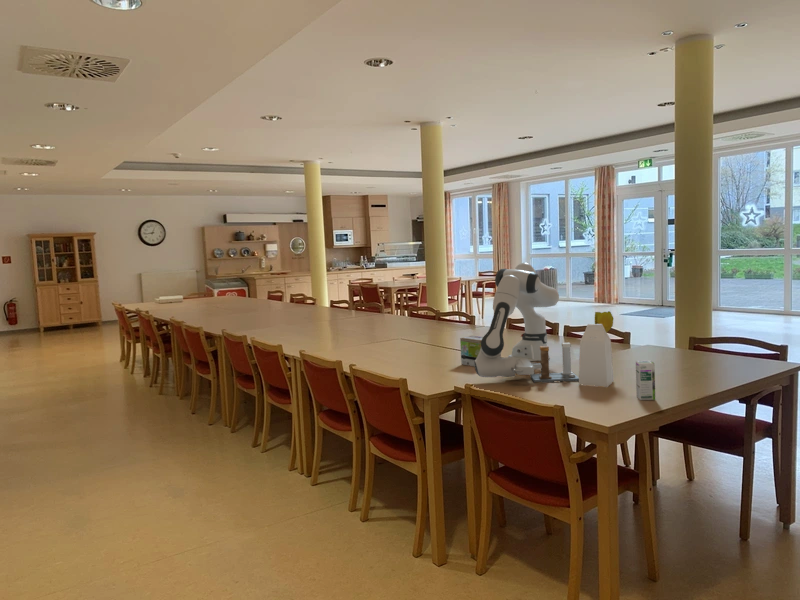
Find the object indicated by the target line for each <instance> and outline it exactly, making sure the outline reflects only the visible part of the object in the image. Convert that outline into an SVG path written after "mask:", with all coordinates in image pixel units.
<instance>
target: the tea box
mask: <svg viewBox="0 0 800 600" xmlns="http://www.w3.org/2000/svg"><path fill="white" fill-rule="evenodd" d="M483 337H484V336H480V335H469V336H464V337H460V338H459V339H460V340H459V341H460V362H461V365H462V364H463V365H464V366H469V365H470V367H475V365H474V361H475V360H476V358H477V356H478V354H479V352H480V349H481V341H482V338H483Z"/></svg>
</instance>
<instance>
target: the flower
mask: <svg viewBox="0 0 800 600" xmlns="http://www.w3.org/2000/svg"><path fill="white" fill-rule="evenodd" d="M594 324H602V325H603V327H604V329H605V331H606V333H608V332H610V330H611V329H612V327H614V326H613V325H614V315H613V313H612V312H611V310H610V311H603V312H601V311H595V312H594Z"/></svg>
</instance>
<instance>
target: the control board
mask: <svg viewBox="0 0 800 600" xmlns="http://www.w3.org/2000/svg"><path fill="white" fill-rule="evenodd" d="M539 375H541V373H534V374H532V375H529V377H530V379H531V380H532V381H533V383H535V382H542V383H554V382H553V381H571V382H579V375H576V374H575V373H574V372H573V374H569V375H562V374H561V372H549V375H550V376H551V377H552V378H547V379H540V377H539ZM535 384H536V383H535Z"/></svg>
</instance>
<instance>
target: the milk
mask: <svg viewBox="0 0 800 600" xmlns="http://www.w3.org/2000/svg"><path fill="white" fill-rule="evenodd" d="M578 367H579V369H578V377H579V381H578V385H579V384H583V385H582V386H586V385H595V386H594V387H598V386H604V387H603V388H608V387H609V386H610V385H612V384H613V383H614V382H615V379H614V378H615V377H614V368H613V351H612V340H611V338H610V336H609V334H608V332H606V331H605V329H604V327H603V325H602V324H595V323H588V324H587V325H586V327H585V331H584V332H583V335H582V337H581V338H580V342H579V365H578ZM613 381H614V382H613ZM612 382H613V383H612Z"/></svg>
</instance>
